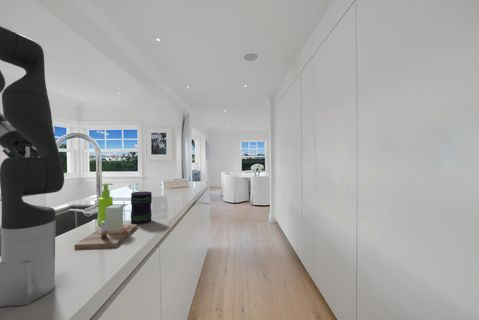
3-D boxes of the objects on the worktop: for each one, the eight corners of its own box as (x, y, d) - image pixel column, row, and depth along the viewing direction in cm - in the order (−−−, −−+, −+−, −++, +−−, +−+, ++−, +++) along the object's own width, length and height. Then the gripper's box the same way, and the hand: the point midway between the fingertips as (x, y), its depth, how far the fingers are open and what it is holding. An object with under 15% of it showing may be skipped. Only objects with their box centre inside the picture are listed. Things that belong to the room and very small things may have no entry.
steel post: (105, 238, 80) (105, 222, 80) (99, 238, 80) (100, 222, 80) (107, 236, 82) (108, 220, 82) (102, 236, 82) (102, 220, 82)
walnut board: (115, 247, 76) (116, 243, 76) (74, 249, 74) (74, 244, 74) (137, 227, 98) (137, 224, 98) (105, 228, 96) (105, 225, 96)
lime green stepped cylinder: (116, 221, 106) (116, 183, 106) (106, 226, 99) (107, 184, 99) (105, 221, 106) (106, 182, 106) (95, 225, 99) (95, 184, 99)
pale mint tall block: (118, 231, 88) (118, 207, 88) (105, 231, 87) (105, 207, 87) (122, 227, 93) (123, 205, 93) (110, 227, 92) (111, 205, 92)
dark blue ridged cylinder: (141, 218, 113) (141, 191, 113) (155, 220, 110) (156, 192, 110) (125, 223, 104) (126, 193, 103) (141, 225, 100) (141, 195, 100)
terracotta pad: (121, 233, 86) (121, 232, 86) (97, 233, 85) (97, 233, 85) (129, 226, 95) (129, 225, 95) (108, 226, 94) (108, 226, 94)
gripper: (-2, 126, 67) (37, 162, 69) (35, 132, 81) (67, 161, 83) (-21, 142, 66) (19, 178, 68) (20, 145, 80) (52, 174, 82)
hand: (45, 169), depth 75 cm, fingers open, 8 cm apart
